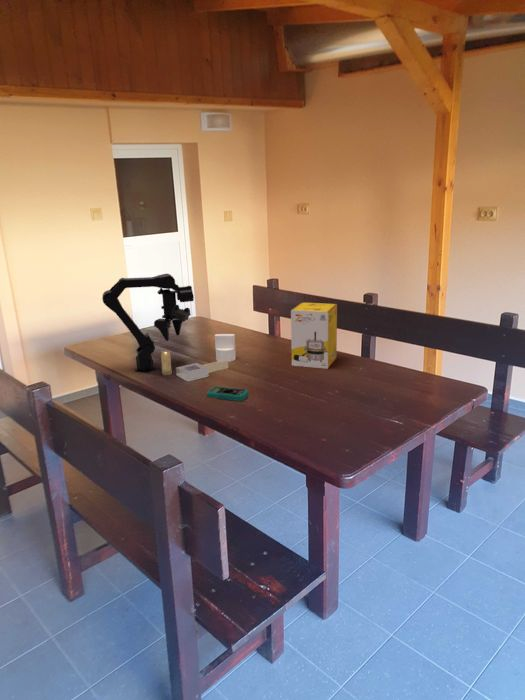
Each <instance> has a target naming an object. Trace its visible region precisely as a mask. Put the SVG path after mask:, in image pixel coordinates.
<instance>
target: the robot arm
mask: <svg viewBox="0 0 525 700" xmlns="http://www.w3.org/2000/svg"><path fill="white" fill-rule="evenodd" d="M153 287H155V288H158V289H159V288H160V289H159V290H158V291H157V292H156V293H157V295H161V296H162V306H160V307H161V308H160V309H161V310H163V315H162V316H161V317H162V318H158V319H156V320H154V322H153V326H154V327H155V328H156V329H158V331H159V332H160V333H161V335H162V337H163V338H164V340H165V341H166V342H168V341H170V338H169V337H170V328H172V326H171V324H172V325H173V329H174V332H175V334H176V336H180V333H181V328H182V324H183V323H184V322H186V321H189V317H190V316H191V315H192V314H191V308H189V307H185V308H184V309H183V308H180V305H179V304H177V301H179V303H188V302H190V303H191V302H194V301H195V300H194V297H195V296H194V292H193V288H192V285H187V286H179V285H178V284H177V283H176V279H175V278H174V276H173V275H172V274H170V273H163V274H157V275H155V276H149V277H148V276H147V277H128V278H127V277H125V278H124V277H120V278H119V279H118V281H117V282H116V283H115V284H114V285H112V287H111V288H110V289H108V290H106V291H104V292H103V293H102V297H101V298H102V303H103V304H104V305H105V306H106V307H107V308H108V309H109V310H111V311H112V312H113V313H114V314H116V316H117V317H118V318H119V320H120V321H121V322H122V323H123V324H124V326H125V327H126V328H127V330H128V331H129V332H130V333H131V334H132V336H133V337H134V338H135V341H136V342H137V343H138V347H137V348H136V349H135V352H136V356H135V360H136V362H135V363H136V369H135V372H140V373H143V372H144V373H149V372H150V371H152V370H154V369H155V368H156V367H155V366H154V364H155V363H154V359H153V356H152V354H153V353H154V352H155V351H156V350H155V349H156V346H155V341H154V338H152V337H151V336H150V334H149V332H146V333H144V332H143V331H142V330H141V329H140V328H139V327H138V325H137V323H135V321H134V320H133V319H132V318H131V316H130V315H129V314H128V313H127V311H126V310H125V309H124V307H123V306H122V304H121V302H120V299H119V297H120V296H121V295H122V293H123V292H124V290H126V289H131V288H132V289H133V288H153Z"/></svg>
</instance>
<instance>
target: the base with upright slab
mask: <svg viewBox="0 0 525 700" xmlns="http://www.w3.org/2000/svg"><path fill="white" fill-rule="evenodd" d="M235 338H236V336H235V333H216V334H214V343H215V345H214V346H215V348H214V349H215V360H216V362H217V361H221V360H228V363H229V362H233V361H235V360H236V359H237V358H236V341H235V340H236V339H235Z"/></svg>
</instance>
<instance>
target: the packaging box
mask: <svg viewBox="0 0 525 700" xmlns="http://www.w3.org/2000/svg"><path fill="white" fill-rule="evenodd" d="M290 318H291V319H290V329H291V331H290V333H291V335H290V336H291V337H290V338H291V339H290V341H291V366H294V367H302V366H303V367H304V368H315V369H326V370H327V369H329V368H330V366H331V365H332V364H333V362H335V361H336V359H337V348H338V347H337V345H338V344H337V342H338V340H337V339H338V337H337V335H338V331H337V330H338V323H337V322H338V304H337V303H320V302H319V303H318V302H301V303H299V304H298V305H296V306H295V307H293V308H292V309H291V310H290Z"/></svg>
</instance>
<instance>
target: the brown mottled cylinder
mask: <svg viewBox="0 0 525 700" xmlns="http://www.w3.org/2000/svg"><path fill="white" fill-rule="evenodd" d="M159 352H160V362H161V363H160V364H161V365H160V366H161V373H162V376H171V375H172V370H173V369H172V361H171V360H172V359H171V351H170V350H168V349H167V350H160V351H159Z"/></svg>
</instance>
